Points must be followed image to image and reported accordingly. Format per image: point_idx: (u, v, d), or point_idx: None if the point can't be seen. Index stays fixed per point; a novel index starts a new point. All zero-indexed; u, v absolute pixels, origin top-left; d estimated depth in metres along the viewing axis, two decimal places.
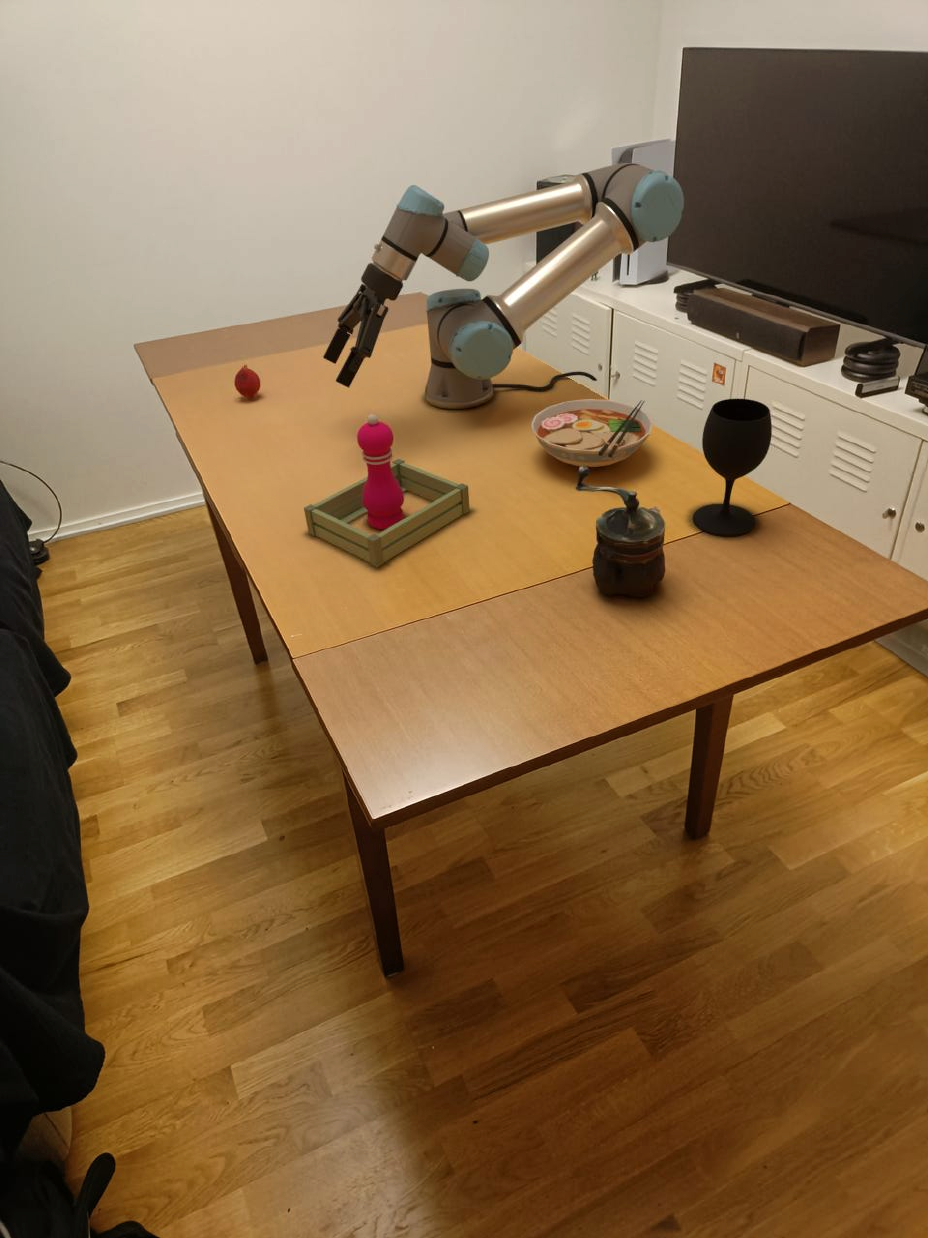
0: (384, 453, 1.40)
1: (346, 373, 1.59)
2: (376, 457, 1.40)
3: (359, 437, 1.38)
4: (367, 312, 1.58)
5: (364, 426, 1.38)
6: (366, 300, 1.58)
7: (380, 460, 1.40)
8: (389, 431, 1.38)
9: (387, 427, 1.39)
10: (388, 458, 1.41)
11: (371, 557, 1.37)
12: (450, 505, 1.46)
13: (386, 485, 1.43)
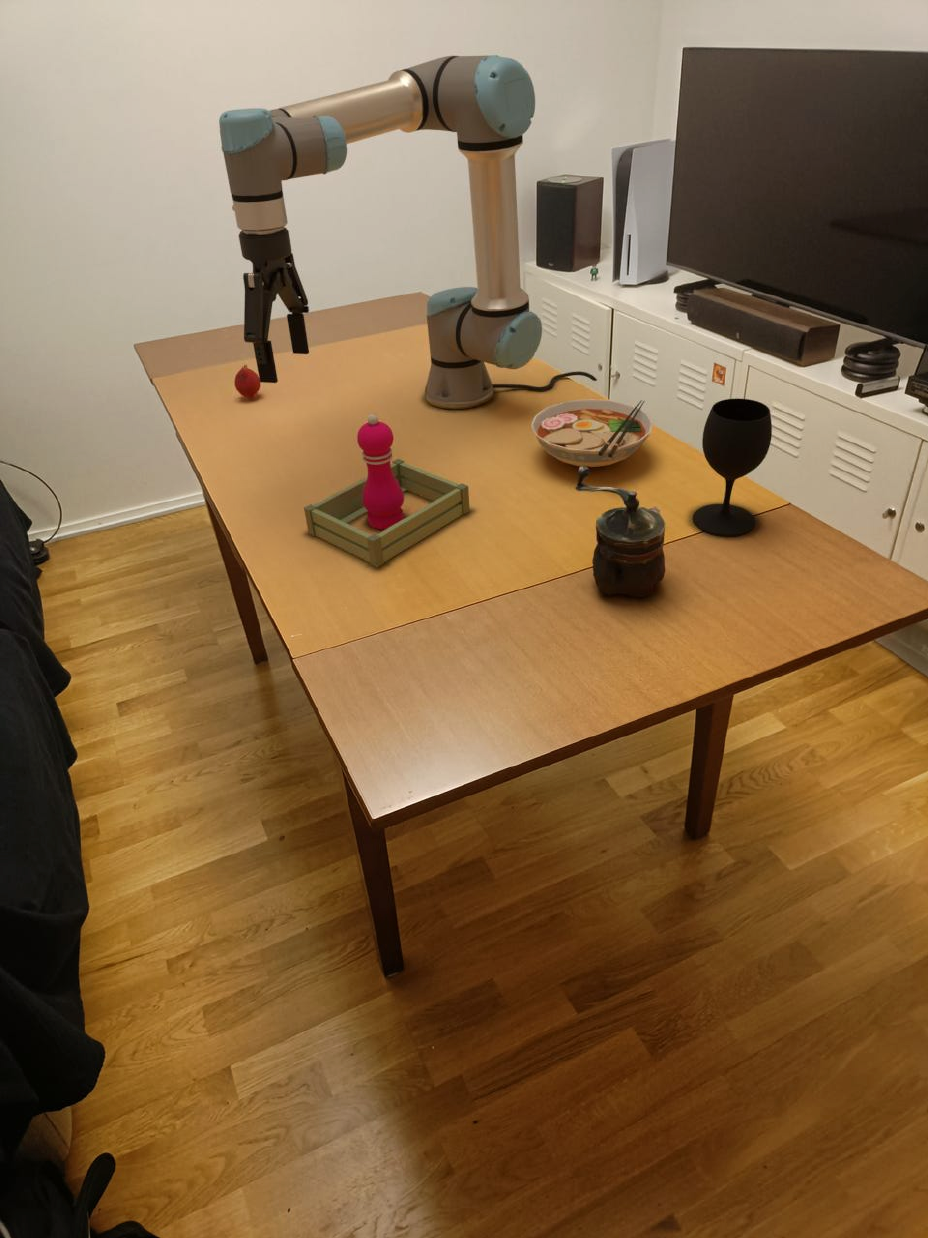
0: (384, 453, 1.40)
1: (263, 369, 1.33)
2: (376, 457, 1.40)
3: (359, 437, 1.38)
4: None
5: (364, 426, 1.38)
6: None
7: (380, 460, 1.40)
8: (389, 431, 1.38)
9: (387, 427, 1.39)
10: (388, 458, 1.41)
11: (371, 557, 1.37)
12: (450, 505, 1.46)
13: (386, 485, 1.43)
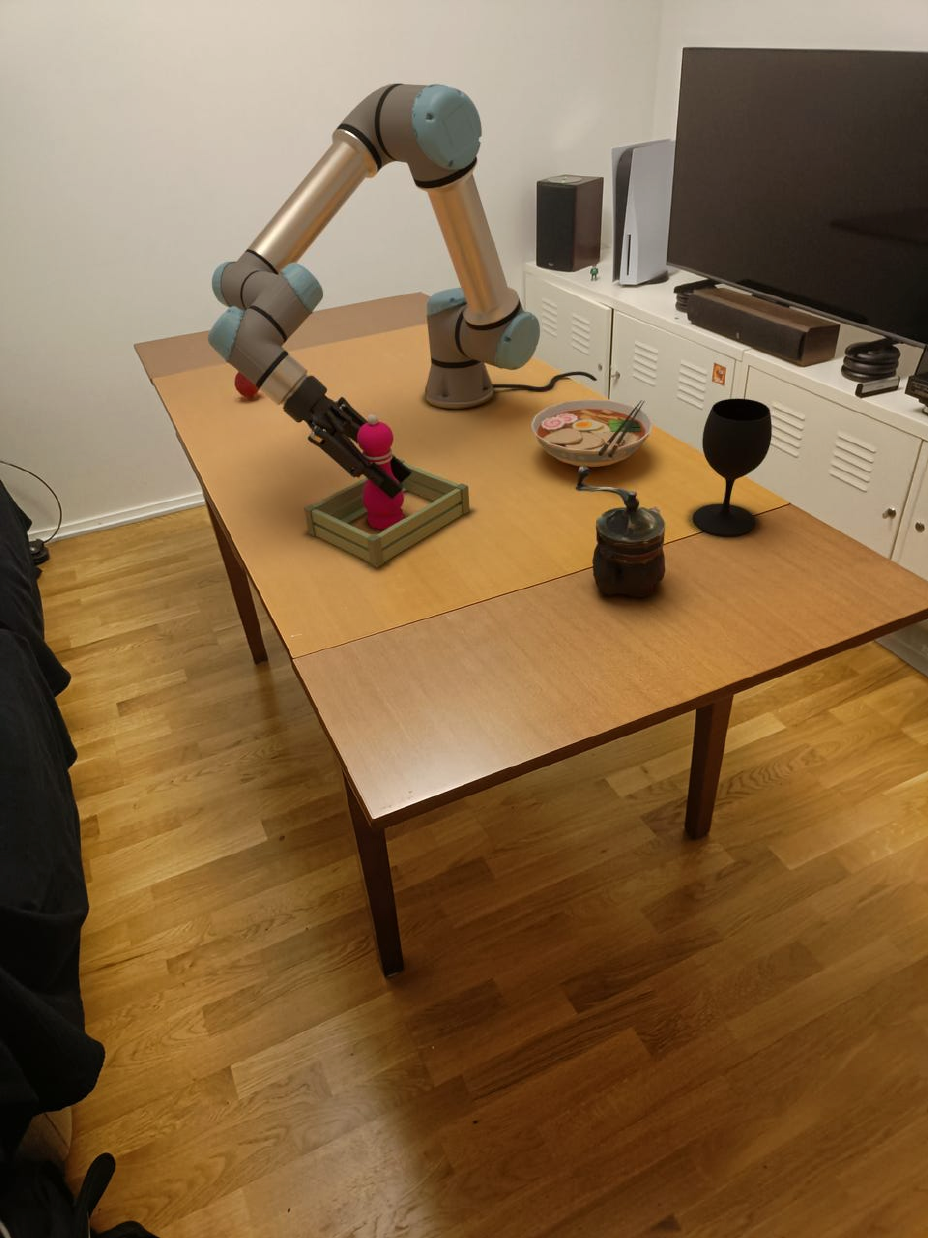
0: (384, 453, 1.40)
1: (386, 487, 1.41)
2: (376, 457, 1.40)
3: (359, 437, 1.38)
4: None
5: (364, 426, 1.38)
6: None
7: (380, 460, 1.40)
8: (389, 431, 1.38)
9: (387, 427, 1.39)
10: (388, 458, 1.41)
11: (371, 557, 1.37)
12: (450, 505, 1.46)
13: None
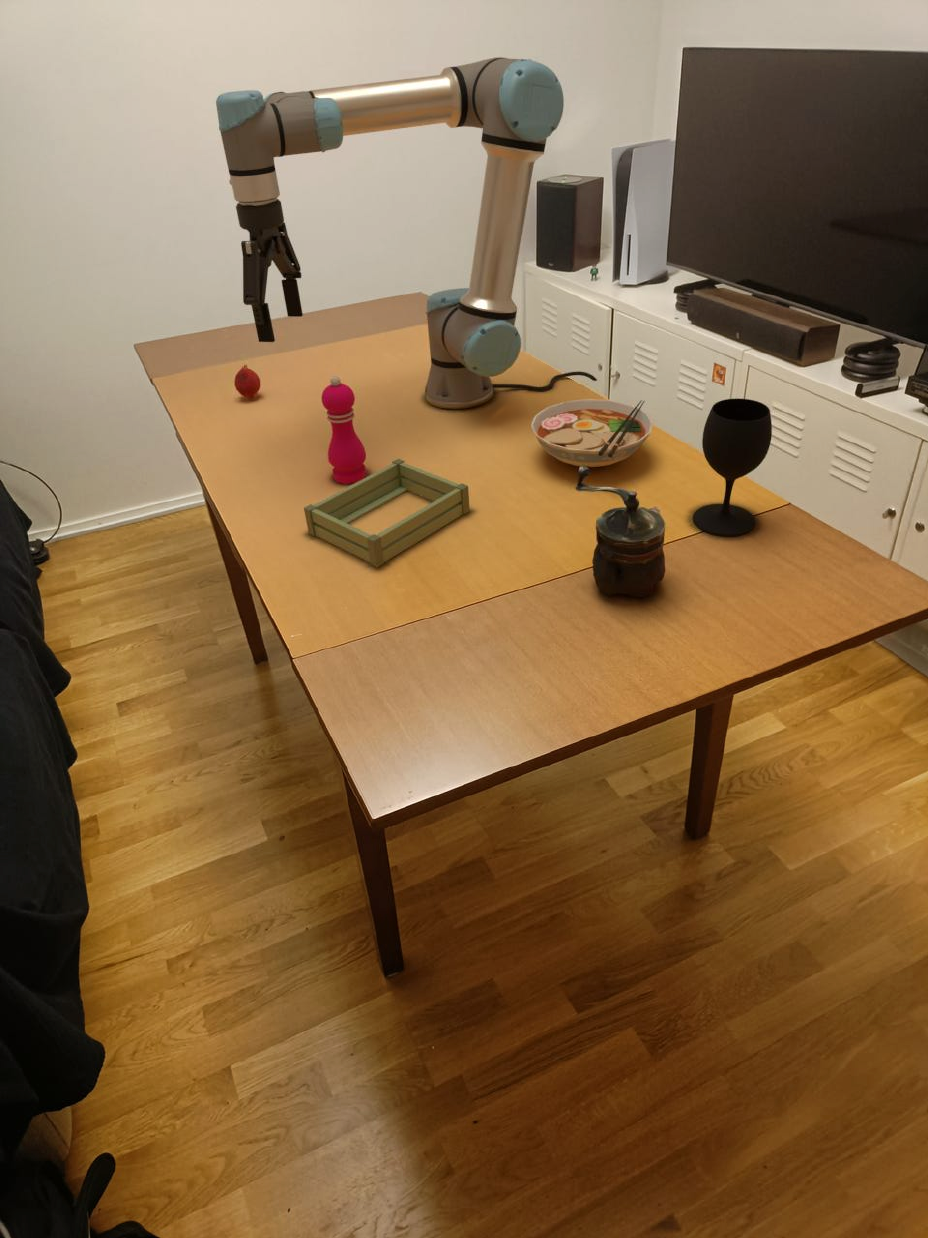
0: (346, 412, 1.54)
1: (261, 329, 1.47)
2: (339, 415, 1.54)
3: (323, 397, 1.52)
4: None
5: (327, 387, 1.52)
6: None
7: (342, 418, 1.54)
8: (350, 392, 1.52)
9: (348, 388, 1.53)
10: (350, 417, 1.55)
11: (371, 557, 1.37)
12: (450, 505, 1.46)
13: (348, 442, 1.57)
